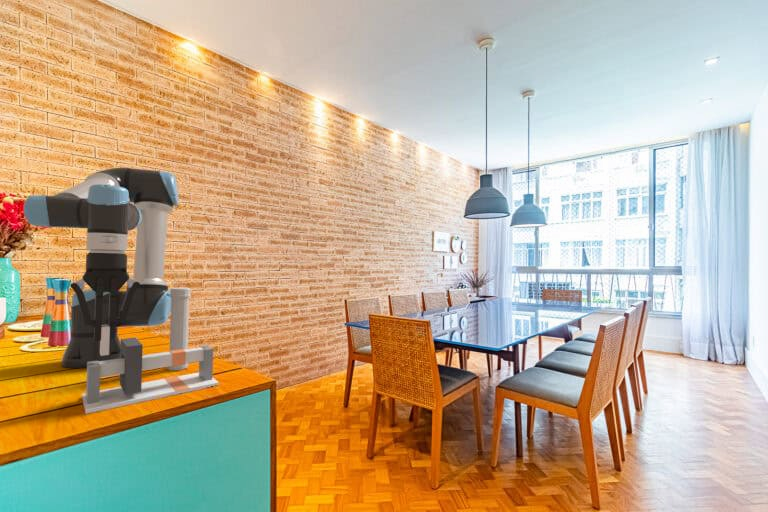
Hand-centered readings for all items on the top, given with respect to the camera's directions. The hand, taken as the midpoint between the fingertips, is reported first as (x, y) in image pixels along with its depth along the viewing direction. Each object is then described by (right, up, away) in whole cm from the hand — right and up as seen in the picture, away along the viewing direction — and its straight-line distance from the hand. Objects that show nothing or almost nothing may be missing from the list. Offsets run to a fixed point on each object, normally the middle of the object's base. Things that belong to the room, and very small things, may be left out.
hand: (104, 353), depth 82 cm
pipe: (+2, -12, +25) cm, 28 cm away
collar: (+4, -9, +3) cm, 10 cm away
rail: (+7, -11, +7) cm, 15 cm away
